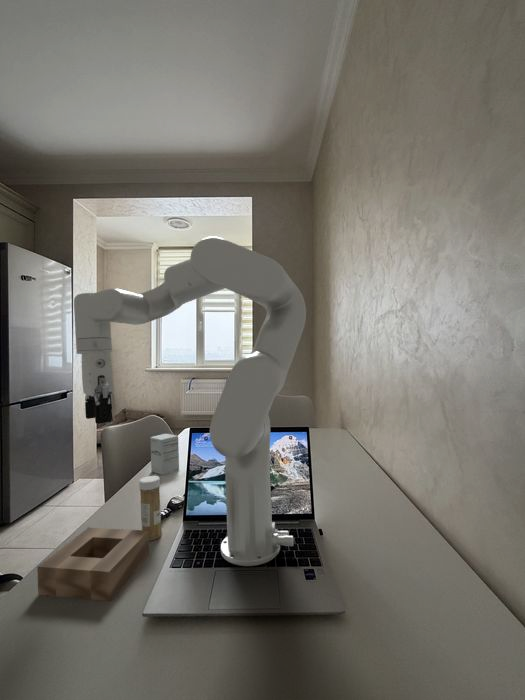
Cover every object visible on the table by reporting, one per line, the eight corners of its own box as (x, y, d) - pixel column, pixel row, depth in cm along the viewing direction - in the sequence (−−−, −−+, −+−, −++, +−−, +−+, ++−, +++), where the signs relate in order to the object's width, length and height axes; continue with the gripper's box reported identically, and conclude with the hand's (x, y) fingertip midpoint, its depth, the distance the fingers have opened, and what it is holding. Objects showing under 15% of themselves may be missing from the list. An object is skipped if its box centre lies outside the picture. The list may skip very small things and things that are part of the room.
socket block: (149, 554, 74) (148, 530, 74) (110, 601, 61) (109, 571, 61) (89, 550, 77) (88, 527, 77) (38, 594, 63) (37, 566, 63)
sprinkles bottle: (164, 537, 81) (162, 478, 81) (144, 543, 79) (142, 483, 79) (158, 529, 85) (156, 473, 85) (139, 535, 82) (137, 477, 83)
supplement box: (150, 471, 128) (149, 436, 128) (168, 466, 133) (167, 432, 133) (162, 475, 123) (161, 439, 123) (180, 470, 128) (178, 435, 128)
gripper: (121, 344, 78) (125, 422, 78) (102, 348, 92) (105, 414, 91) (84, 345, 73) (88, 427, 73) (69, 349, 87) (73, 418, 87)
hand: (98, 420), depth 82 cm, fingers open, 9 cm apart
